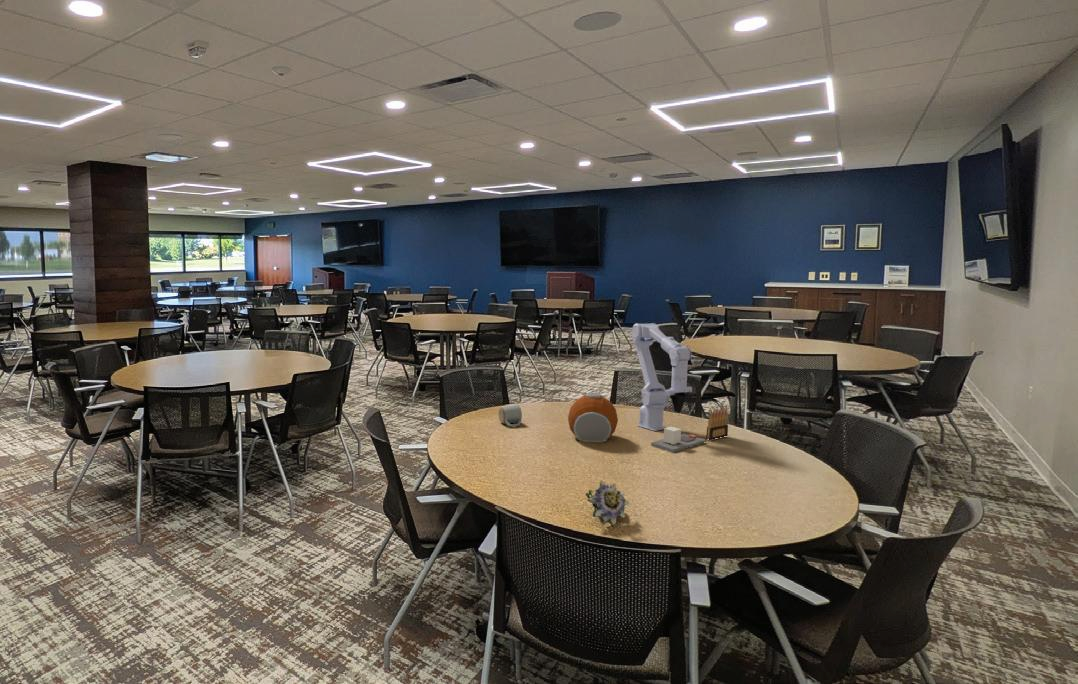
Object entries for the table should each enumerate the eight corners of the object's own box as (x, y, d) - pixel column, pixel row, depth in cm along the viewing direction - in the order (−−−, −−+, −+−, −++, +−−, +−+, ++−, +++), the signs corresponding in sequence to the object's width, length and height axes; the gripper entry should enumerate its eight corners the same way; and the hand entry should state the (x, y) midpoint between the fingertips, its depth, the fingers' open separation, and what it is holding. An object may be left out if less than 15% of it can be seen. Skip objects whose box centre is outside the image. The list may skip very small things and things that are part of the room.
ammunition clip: (709, 441, 222) (711, 410, 220) (705, 439, 223) (707, 409, 222) (727, 437, 228) (729, 407, 226) (723, 435, 229) (725, 406, 228)
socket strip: (651, 445, 214) (651, 440, 214) (683, 436, 227) (684, 431, 227) (673, 452, 206) (673, 447, 206) (705, 442, 219) (705, 438, 219)
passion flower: (611, 543, 149) (599, 517, 142) (583, 521, 157) (570, 495, 150) (640, 513, 153) (629, 486, 146) (611, 493, 161) (600, 466, 154)
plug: (663, 445, 214) (664, 428, 214) (670, 443, 217) (671, 426, 216) (672, 448, 211) (673, 431, 210) (680, 446, 214) (681, 429, 213)
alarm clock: (616, 432, 230) (618, 390, 228) (617, 446, 213) (619, 400, 210) (568, 430, 232) (569, 387, 230) (566, 443, 215) (567, 397, 212)
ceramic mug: (497, 421, 241) (497, 403, 240) (515, 420, 245) (516, 402, 243) (506, 428, 232) (506, 410, 231) (525, 427, 235) (525, 408, 234)
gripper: (676, 380, 214) (674, 416, 216) (699, 377, 223) (697, 411, 225) (661, 378, 219) (659, 412, 221) (684, 374, 229) (682, 407, 230)
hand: (677, 411), depth 223 cm, fingers closed
